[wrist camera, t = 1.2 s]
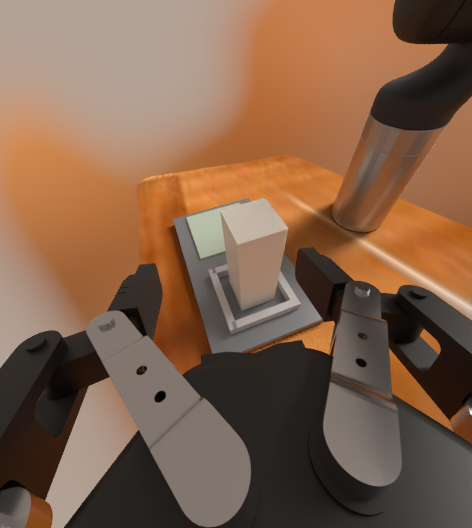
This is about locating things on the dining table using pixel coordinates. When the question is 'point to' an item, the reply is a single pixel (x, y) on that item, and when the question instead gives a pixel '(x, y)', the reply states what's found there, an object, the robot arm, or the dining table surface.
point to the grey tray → (223, 298)
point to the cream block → (253, 250)
